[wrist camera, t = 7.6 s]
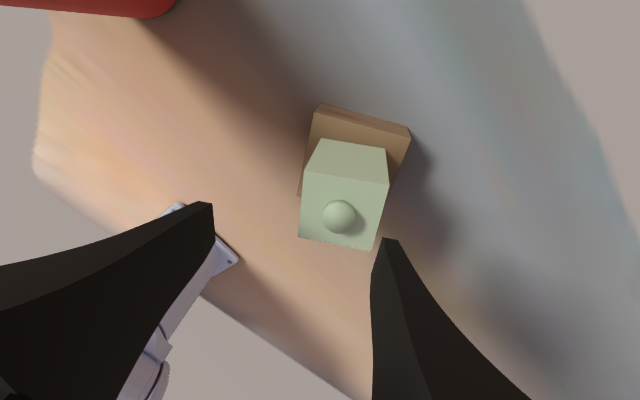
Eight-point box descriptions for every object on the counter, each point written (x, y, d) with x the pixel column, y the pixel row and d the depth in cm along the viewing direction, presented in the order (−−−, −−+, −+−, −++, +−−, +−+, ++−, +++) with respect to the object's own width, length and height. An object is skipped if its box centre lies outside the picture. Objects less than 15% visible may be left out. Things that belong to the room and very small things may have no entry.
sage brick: (371, 203, 19) (371, 259, 14) (314, 193, 19) (295, 244, 14) (385, 148, 17) (390, 191, 12) (320, 137, 17) (301, 175, 12)
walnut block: (377, 197, 22) (378, 218, 19) (305, 177, 22) (296, 195, 19) (406, 125, 19) (411, 138, 16) (321, 102, 19) (313, 112, 16)
